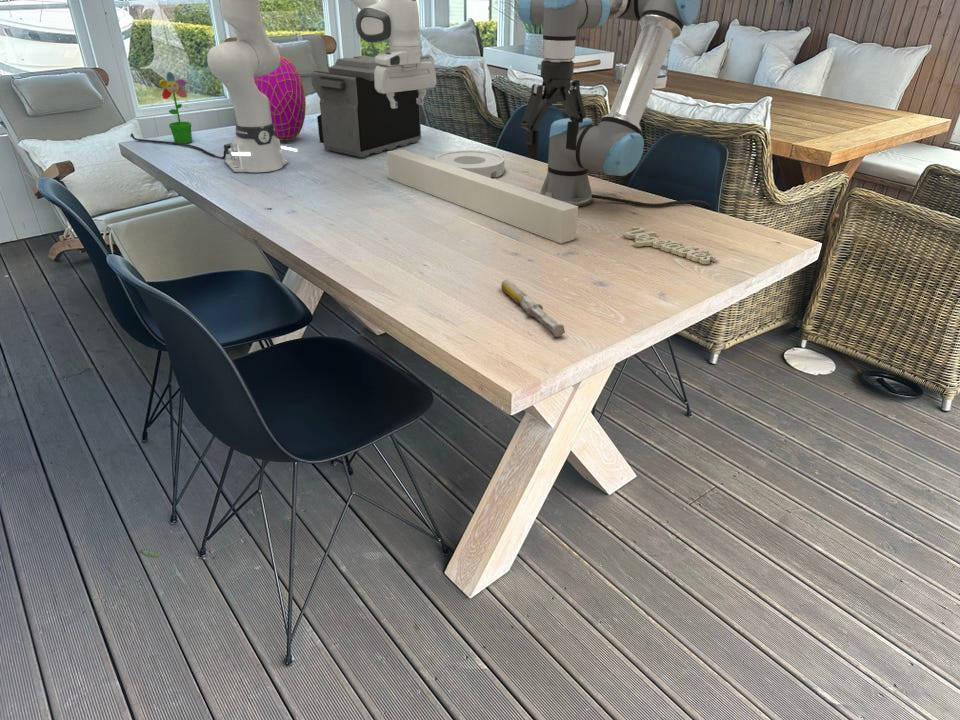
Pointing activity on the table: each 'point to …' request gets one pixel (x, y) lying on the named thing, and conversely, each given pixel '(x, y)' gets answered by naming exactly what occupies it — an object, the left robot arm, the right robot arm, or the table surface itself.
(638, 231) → the decorative sign
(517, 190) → the post
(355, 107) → the cooler box
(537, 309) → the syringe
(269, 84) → the decorative egg
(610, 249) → the table surface
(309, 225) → the table surface
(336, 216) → the table surface
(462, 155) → the ashtray
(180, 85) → the potted flower
